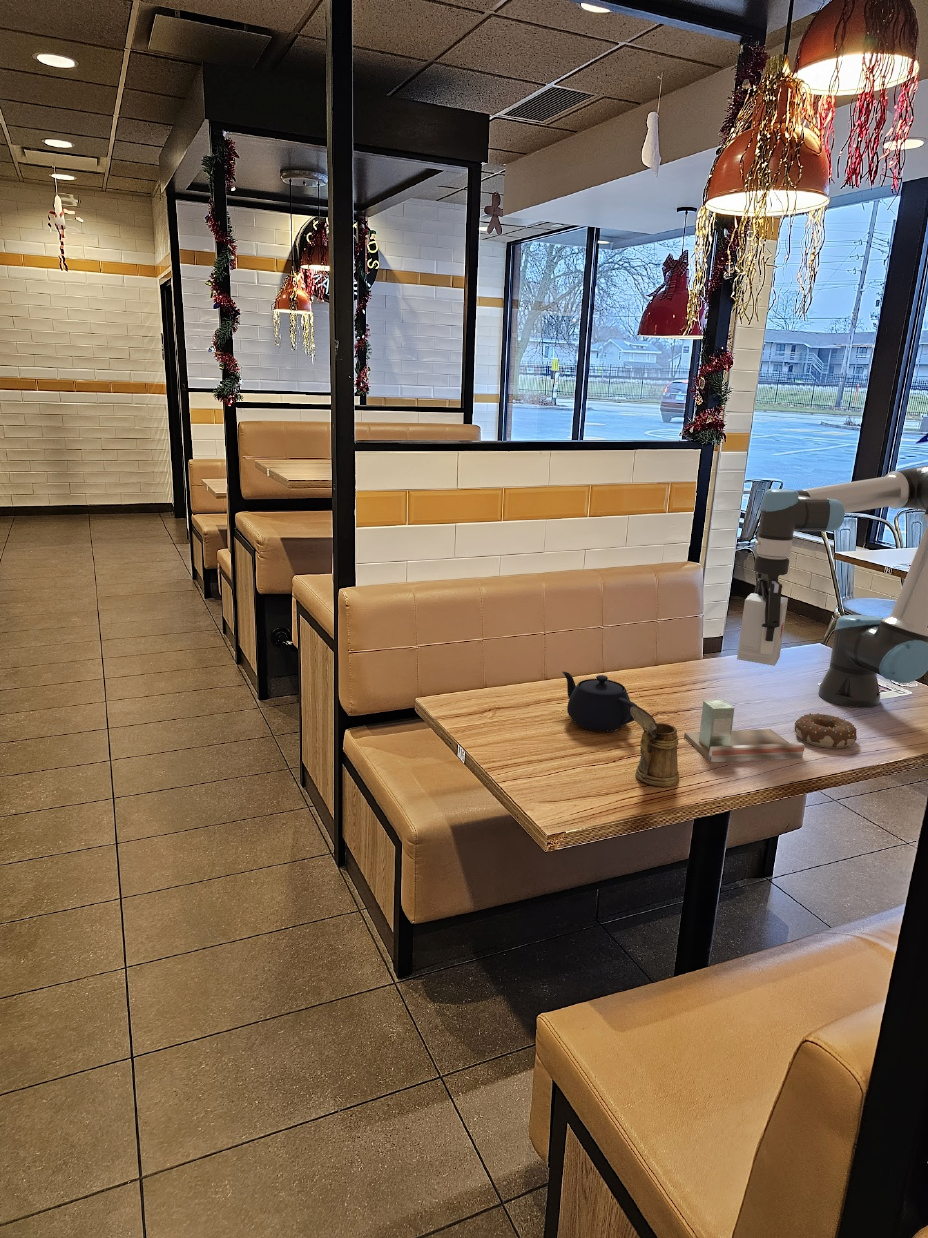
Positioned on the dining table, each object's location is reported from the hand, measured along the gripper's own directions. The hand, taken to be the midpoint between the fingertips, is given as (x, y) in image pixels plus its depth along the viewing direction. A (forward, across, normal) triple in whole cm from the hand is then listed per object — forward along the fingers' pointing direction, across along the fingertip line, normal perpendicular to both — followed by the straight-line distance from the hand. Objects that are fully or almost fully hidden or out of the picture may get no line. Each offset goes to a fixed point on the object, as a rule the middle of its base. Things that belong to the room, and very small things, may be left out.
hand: (760, 646), depth 200 cm
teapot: (+21, +5, -38) cm, 43 cm away
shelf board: (+20, +14, -5) cm, 25 cm away
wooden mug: (+21, +36, -28) cm, 50 cm away
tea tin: (+19, +18, -12) cm, 29 cm away
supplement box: (+3, 0, 0) cm, 3 cm away
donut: (+20, +6, +16) cm, 27 cm away
